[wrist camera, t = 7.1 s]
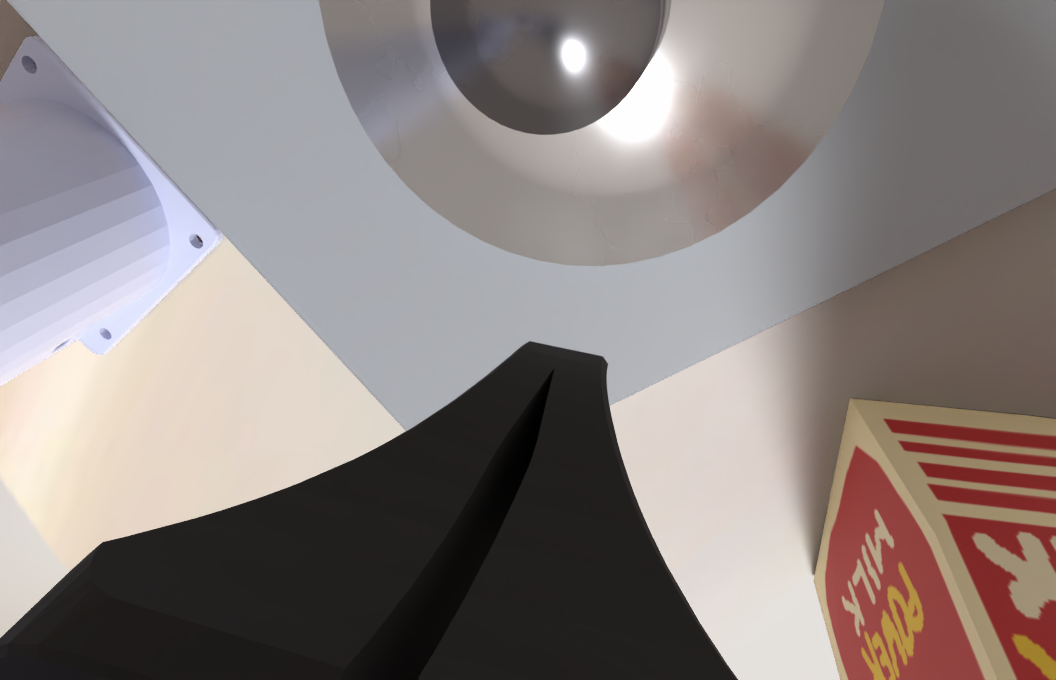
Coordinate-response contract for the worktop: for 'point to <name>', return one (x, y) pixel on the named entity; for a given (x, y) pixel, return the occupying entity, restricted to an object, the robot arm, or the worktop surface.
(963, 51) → the board
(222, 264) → the worktop surface
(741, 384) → the worktop surface
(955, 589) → the milk carton
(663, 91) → the pizza cutter
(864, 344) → the worktop surface
